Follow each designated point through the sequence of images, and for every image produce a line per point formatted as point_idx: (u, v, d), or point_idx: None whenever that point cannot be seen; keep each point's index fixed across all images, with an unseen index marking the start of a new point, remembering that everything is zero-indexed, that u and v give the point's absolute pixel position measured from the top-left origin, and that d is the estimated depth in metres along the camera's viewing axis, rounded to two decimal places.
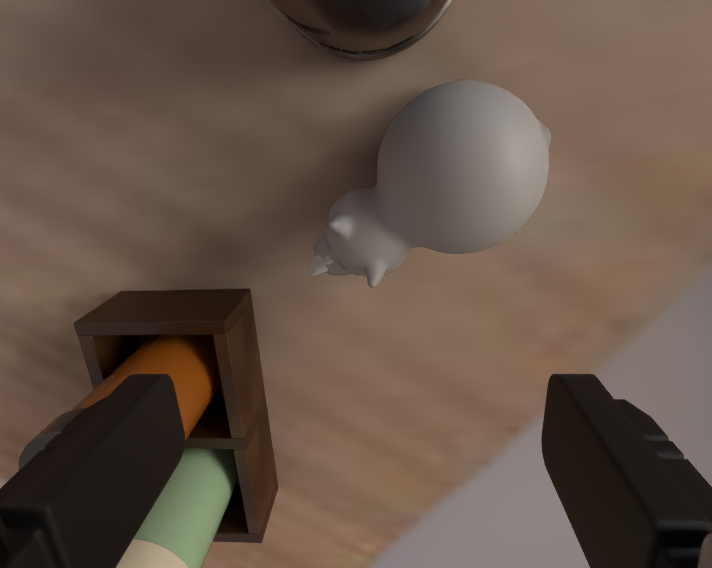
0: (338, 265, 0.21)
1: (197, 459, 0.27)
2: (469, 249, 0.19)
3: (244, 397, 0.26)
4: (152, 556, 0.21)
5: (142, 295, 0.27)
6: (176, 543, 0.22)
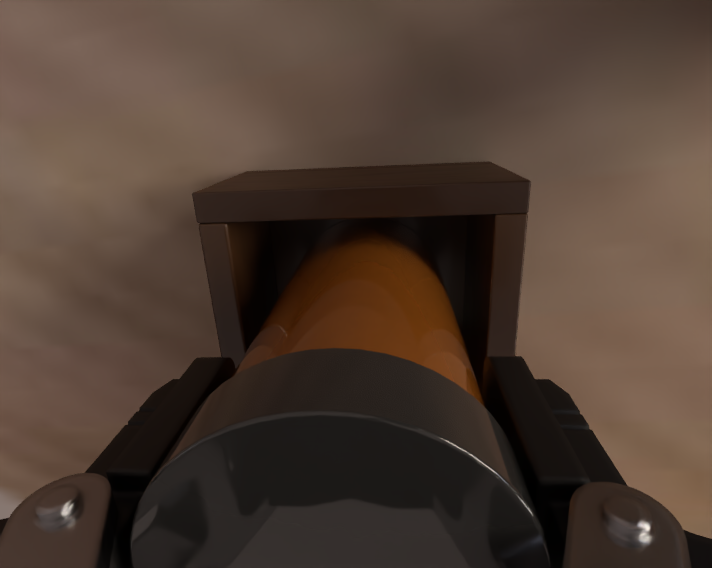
0: None
1: None
2: None
3: None
4: None
5: (292, 171, 0.15)
6: None
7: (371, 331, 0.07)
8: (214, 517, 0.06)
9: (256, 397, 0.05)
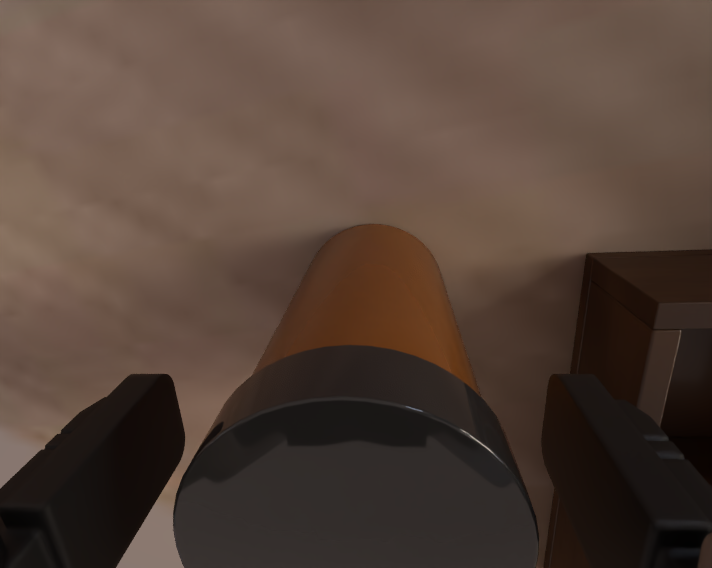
0: None
1: None
2: None
3: None
4: None
5: (652, 257, 0.15)
6: None
7: (379, 330, 0.08)
8: (247, 489, 0.06)
9: (283, 387, 0.06)
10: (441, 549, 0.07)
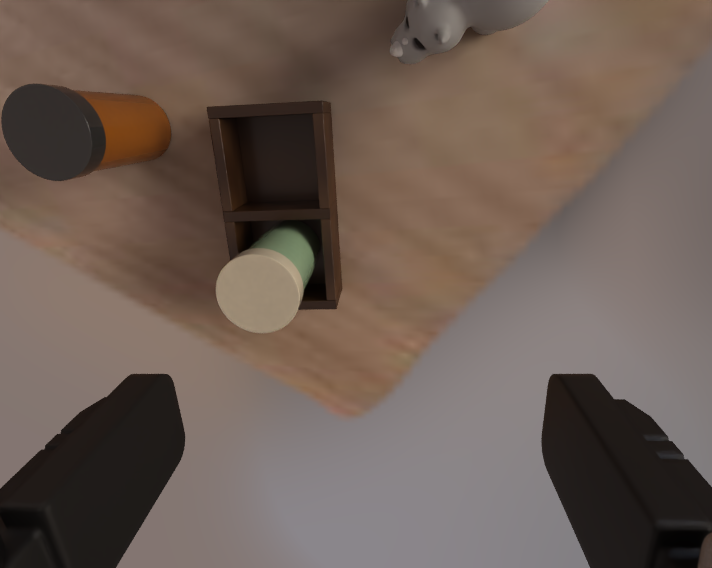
0: (411, 46, 0.29)
1: (290, 231, 0.35)
2: (511, 11, 0.26)
3: (329, 177, 0.34)
4: (277, 255, 0.29)
5: None
6: (289, 259, 0.30)
7: None
8: (17, 113, 0.27)
9: None
10: (67, 131, 0.27)
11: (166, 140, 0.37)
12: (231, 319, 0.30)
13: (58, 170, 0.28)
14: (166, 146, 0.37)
